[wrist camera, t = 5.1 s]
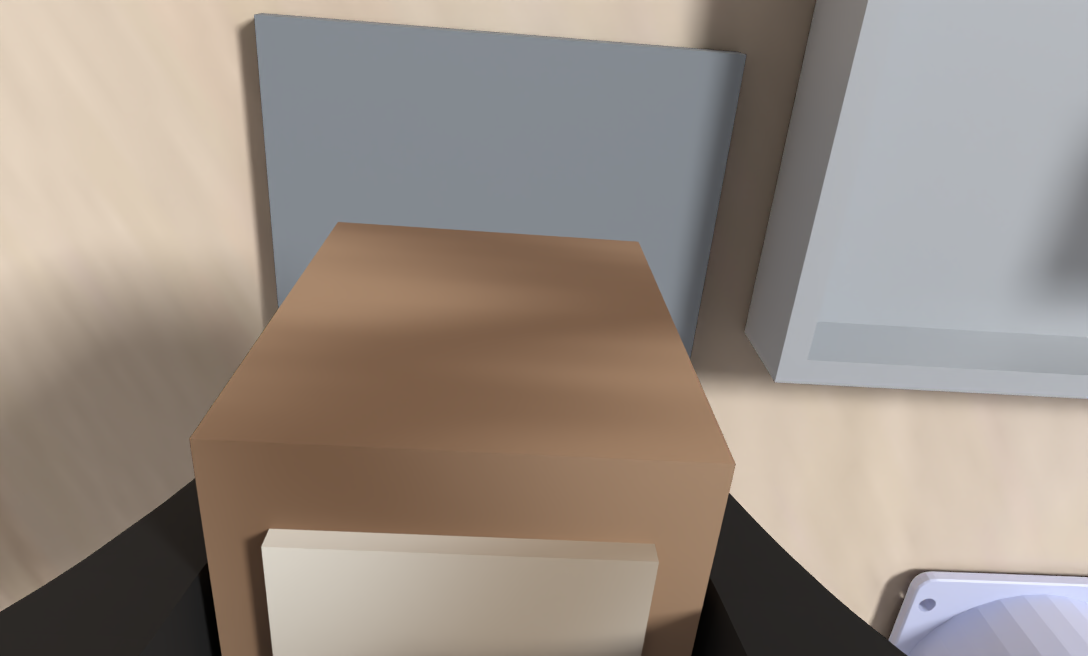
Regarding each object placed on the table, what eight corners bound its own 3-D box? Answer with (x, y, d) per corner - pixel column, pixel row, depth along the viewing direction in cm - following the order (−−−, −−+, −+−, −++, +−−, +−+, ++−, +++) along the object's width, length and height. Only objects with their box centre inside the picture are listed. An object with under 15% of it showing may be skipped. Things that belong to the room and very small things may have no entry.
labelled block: (638, 241, 10) (743, 480, 5) (591, 576, 13) (634, 932, 8) (337, 221, 10) (177, 454, 5) (352, 568, 12) (253, 930, 8)
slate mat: (669, 441, 20) (672, 452, 20) (293, 423, 20) (288, 435, 19) (739, 51, 16) (746, 54, 16) (261, 13, 15) (253, 14, 15)
